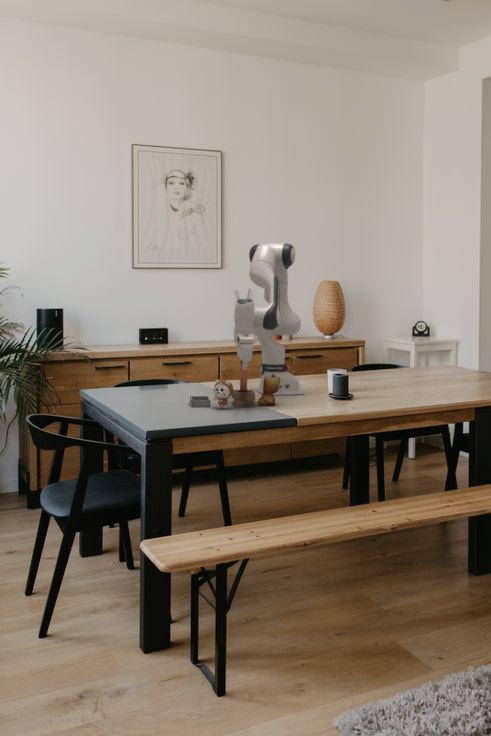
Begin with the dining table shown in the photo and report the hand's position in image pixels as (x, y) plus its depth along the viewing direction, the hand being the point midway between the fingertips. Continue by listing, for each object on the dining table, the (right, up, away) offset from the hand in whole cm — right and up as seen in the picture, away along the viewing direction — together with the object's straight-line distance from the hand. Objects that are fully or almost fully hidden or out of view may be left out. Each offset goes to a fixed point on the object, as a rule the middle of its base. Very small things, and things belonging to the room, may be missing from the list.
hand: (243, 369), depth 298 cm
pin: (0, -9, +1) cm, 9 cm away
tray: (-19, -15, 0) cm, 24 cm away
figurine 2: (+11, -16, +4) cm, 19 cm away
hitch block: (0, -16, +1) cm, 16 cm away
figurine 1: (-9, -17, -8) cm, 20 cm away
